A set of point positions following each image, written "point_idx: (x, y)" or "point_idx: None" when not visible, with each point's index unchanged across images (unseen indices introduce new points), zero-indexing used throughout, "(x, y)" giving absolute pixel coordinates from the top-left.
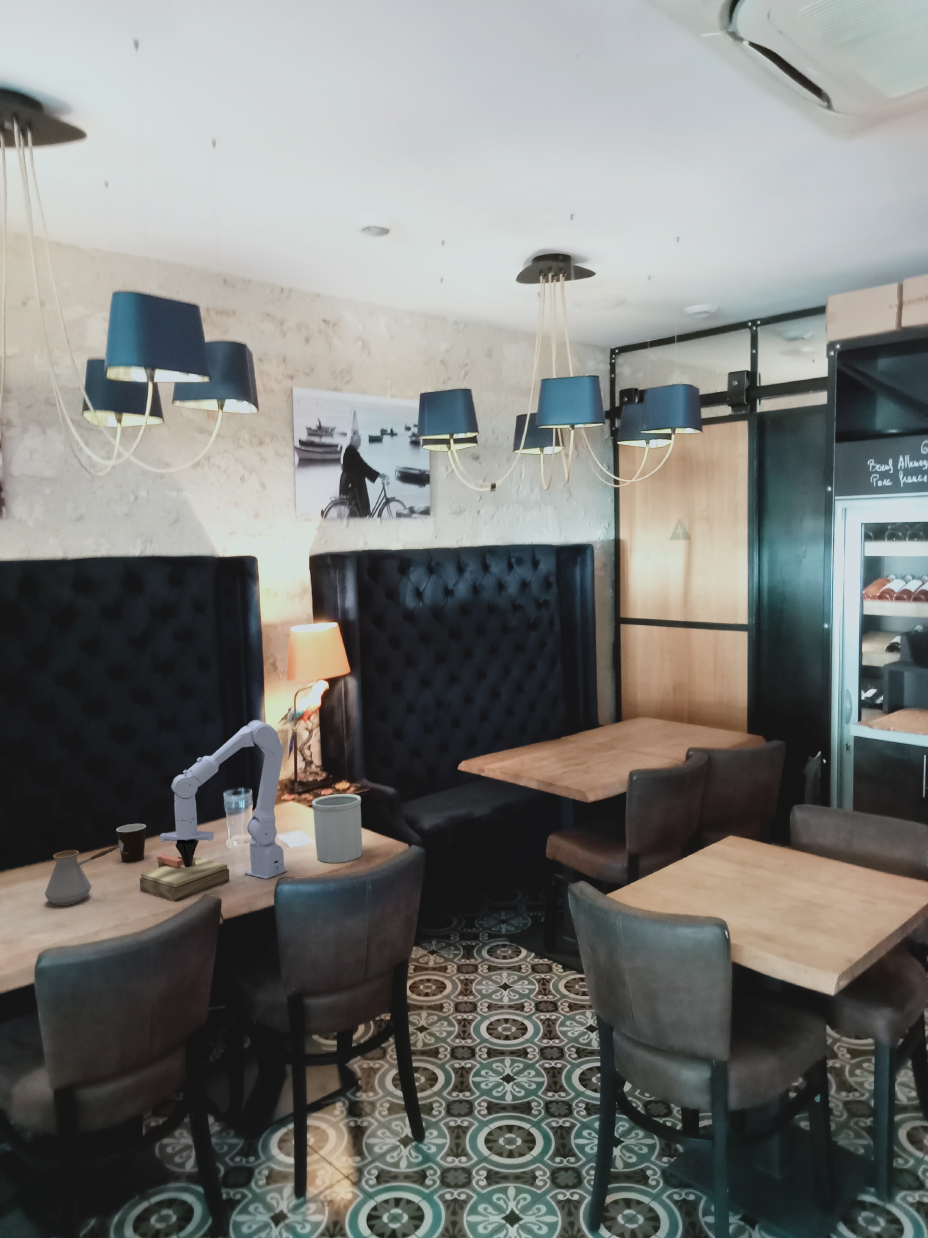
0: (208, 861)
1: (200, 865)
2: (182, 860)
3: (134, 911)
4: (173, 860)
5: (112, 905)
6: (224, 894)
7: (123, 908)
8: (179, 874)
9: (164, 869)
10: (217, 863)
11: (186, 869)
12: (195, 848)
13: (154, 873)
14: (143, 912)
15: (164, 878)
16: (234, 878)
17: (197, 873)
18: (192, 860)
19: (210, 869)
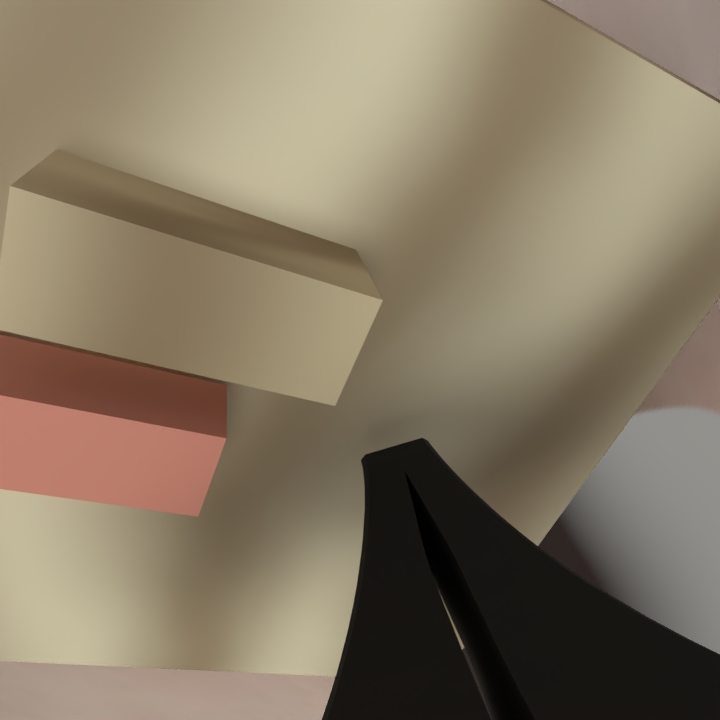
0: (498, 49)
1: (449, 260)
2: (226, 432)
3: (238, 706)
4: (94, 501)
5: (7, 709)
6: (692, 395)
7: (130, 708)
8: (351, 551)
9: (29, 494)
10: (675, 128)
11: (336, 425)
12: (595, 602)
13: (29, 607)
14: (301, 697)
15: (265, 650)
16: (714, 10)
17: (533, 487)
18: (451, 473)
19: (637, 360)
